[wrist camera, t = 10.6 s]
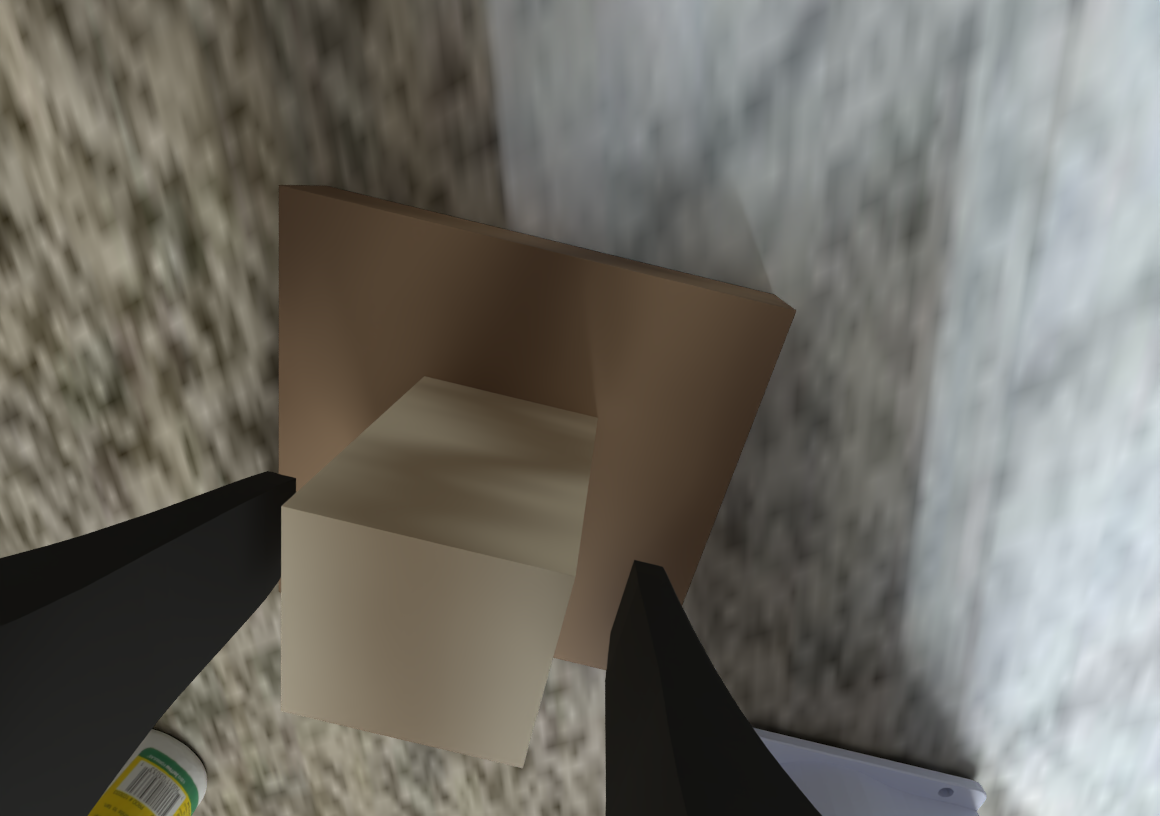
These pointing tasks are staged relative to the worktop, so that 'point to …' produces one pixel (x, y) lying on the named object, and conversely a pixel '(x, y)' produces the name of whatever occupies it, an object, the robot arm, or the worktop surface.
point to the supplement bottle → (156, 781)
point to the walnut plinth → (528, 367)
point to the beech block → (436, 570)
